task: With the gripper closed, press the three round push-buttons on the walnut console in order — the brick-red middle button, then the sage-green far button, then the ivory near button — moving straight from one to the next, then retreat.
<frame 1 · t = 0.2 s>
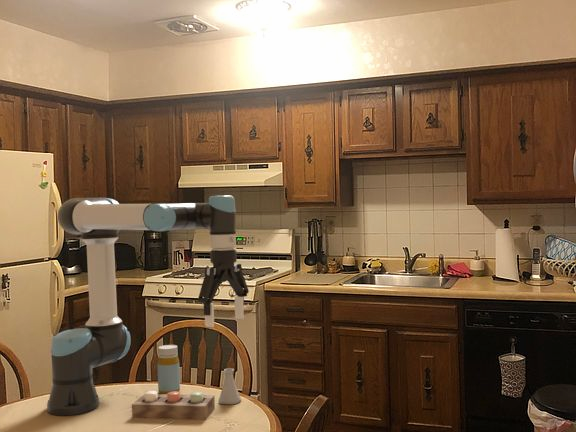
hand: (225, 322, 178), 27 cm above the table, fingers open, 13 cm apart
button ivory: (151, 398, 184), point 4 cm above the table, slide at 0.0 cm
console: (174, 413, 183), on the table
flask: (229, 402, 193), on the table
button sage: (196, 399, 182), point 4 cm above the table, slide at 0.0 cm
bottle: (169, 392, 204), on the table
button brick: (173, 399, 183), point 4 cm above the table, slide at 0.0 cm
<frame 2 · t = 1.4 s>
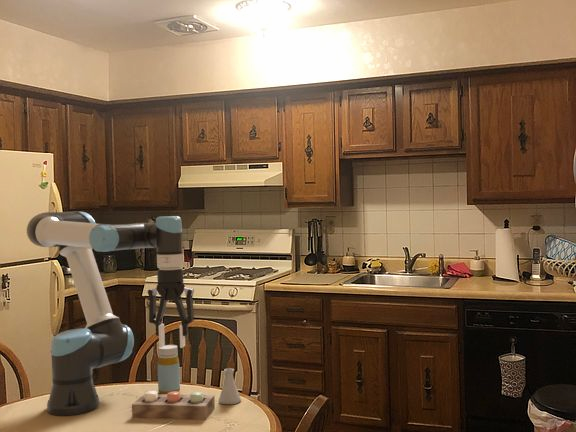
hand: (172, 346, 183), 20 cm above the table, fingers open, 6 cm apart
nothing on the table moved.
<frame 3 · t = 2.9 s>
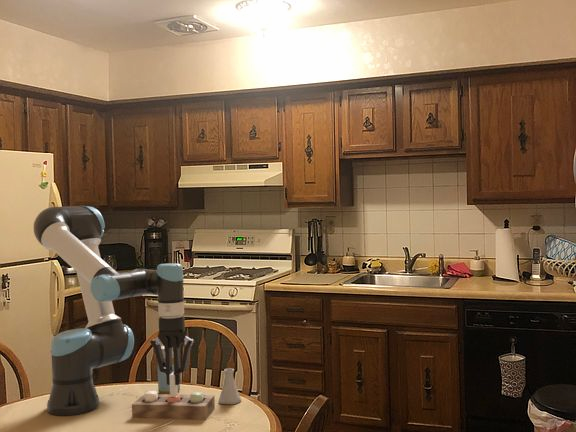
hand: (174, 395, 183), 5 cm above the table, fingers closed
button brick: (173, 402, 183), point 3 cm above the table, slide at -0.9 cm, touching gripper
everything else where it was.
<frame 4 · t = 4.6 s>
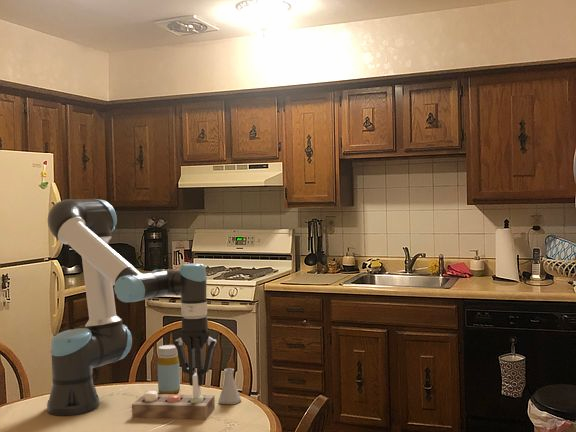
hand: (196, 396, 182), 5 cm above the table, fingers closed
button sage: (196, 402, 182), point 3 cm above the table, slide at -0.9 cm, touching gripper
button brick: (173, 402, 183), point 3 cm above the table, slide at -1.0 cm
everything else where it was.
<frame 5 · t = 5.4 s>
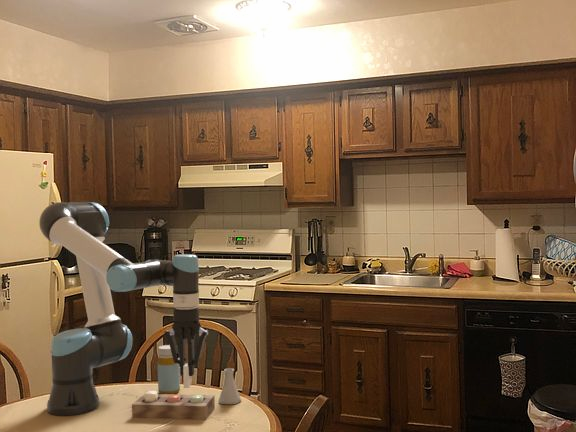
hand: (187, 386, 182), 8 cm above the table, fingers closed
button sage: (196, 402, 182), point 3 cm above the table, slide at -0.9 cm
everything else where it was.
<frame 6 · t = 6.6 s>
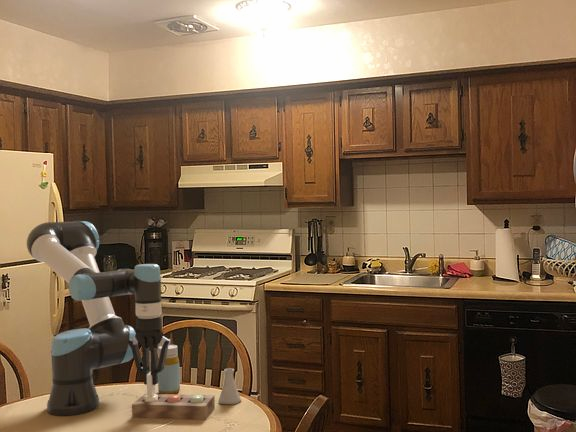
hand: (151, 395, 184), 5 cm above the table, fingers closed
button ivory: (151, 401, 184), point 3 cm above the table, slide at -0.9 cm, touching gripper
everything else where it was.
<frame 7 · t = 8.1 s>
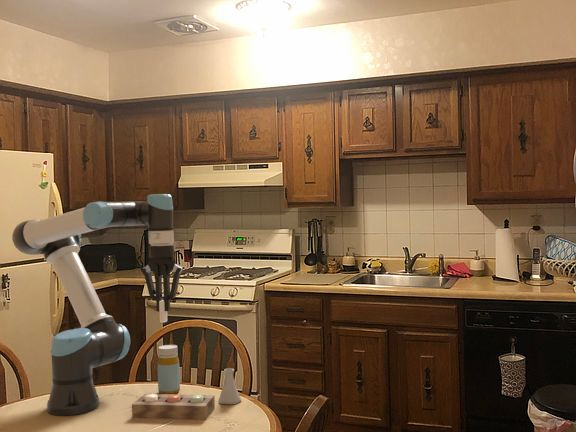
hand: (163, 321, 189), 26 cm above the table, fingers closed
button ivory: (151, 401, 184), point 3 cm above the table, slide at -1.0 cm
everything else where it was.
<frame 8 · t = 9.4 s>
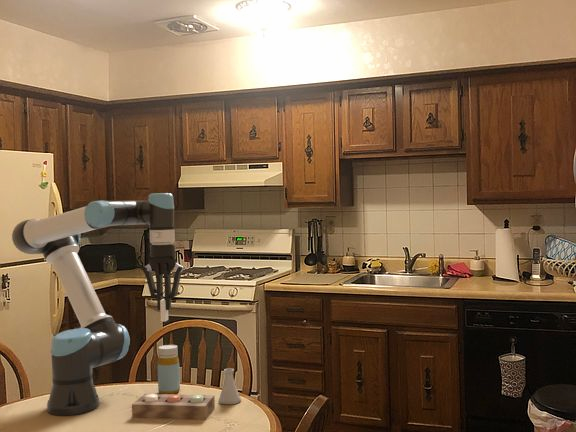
hand: (164, 320, 189), 26 cm above the table, fingers closed
nothing on the table moved.
at the end: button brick slide at -1.0 cm; button sage slide at -0.9 cm; button ivory slide at -1.0 cm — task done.
